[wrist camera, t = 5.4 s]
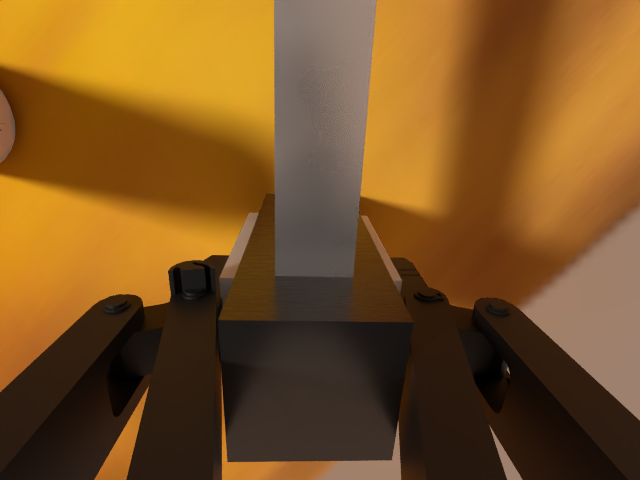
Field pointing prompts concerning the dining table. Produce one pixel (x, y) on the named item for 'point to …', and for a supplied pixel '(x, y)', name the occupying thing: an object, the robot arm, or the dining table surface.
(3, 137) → the beer can
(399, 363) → the shaft
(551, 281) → the dining table surface
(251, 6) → the dining table surface
